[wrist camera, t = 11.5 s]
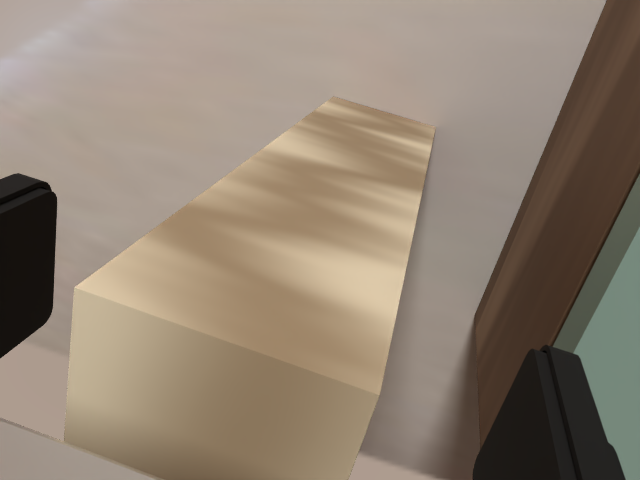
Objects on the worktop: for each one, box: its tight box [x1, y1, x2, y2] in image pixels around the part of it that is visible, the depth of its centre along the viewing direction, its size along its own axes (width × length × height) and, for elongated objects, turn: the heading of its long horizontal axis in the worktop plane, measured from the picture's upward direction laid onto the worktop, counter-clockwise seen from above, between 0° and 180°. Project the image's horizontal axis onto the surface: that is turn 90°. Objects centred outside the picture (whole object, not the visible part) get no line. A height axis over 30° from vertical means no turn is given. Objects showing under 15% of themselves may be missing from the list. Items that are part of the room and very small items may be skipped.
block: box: [64, 97, 436, 480], centre depth 15 cm, size 4×4×16 cm
